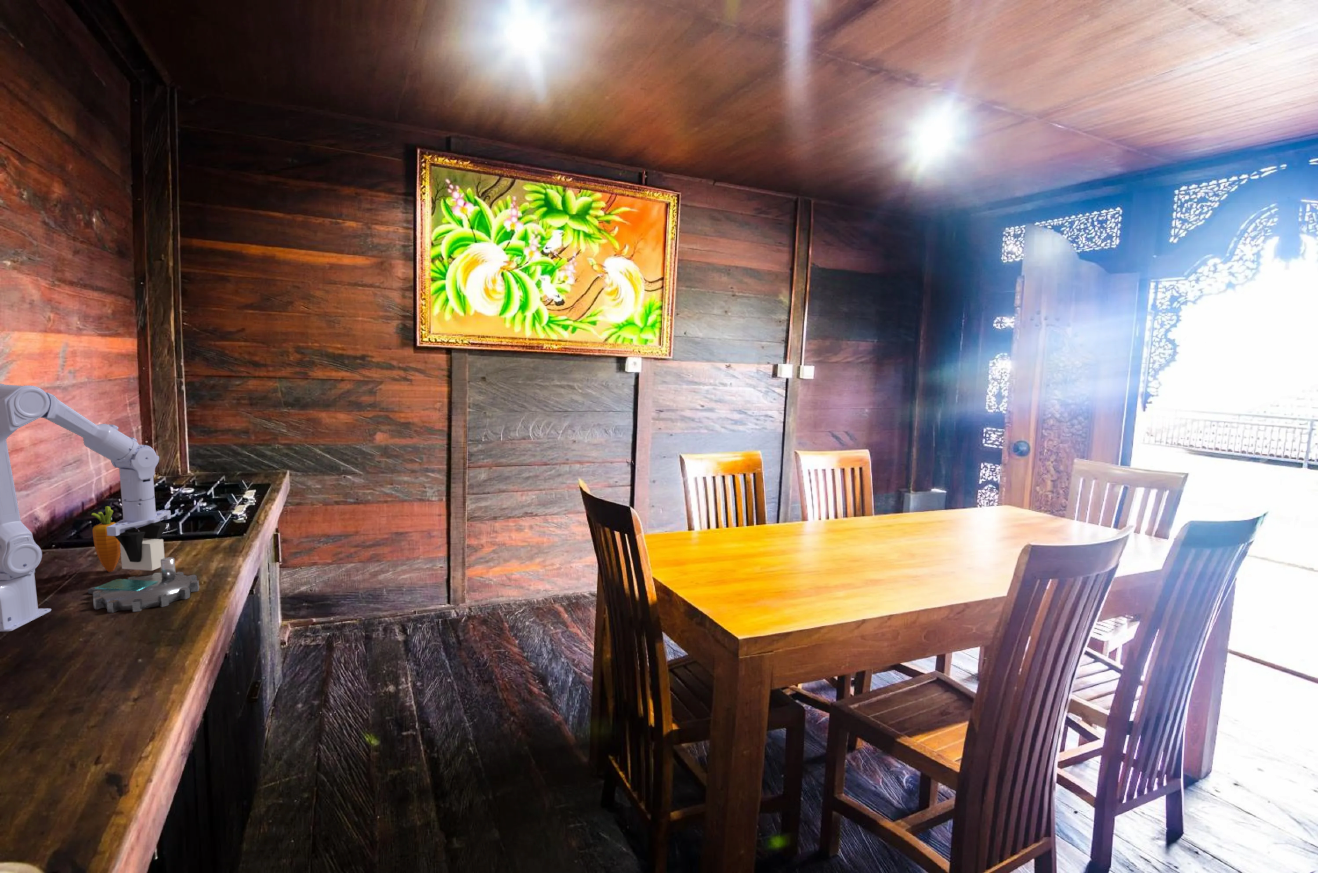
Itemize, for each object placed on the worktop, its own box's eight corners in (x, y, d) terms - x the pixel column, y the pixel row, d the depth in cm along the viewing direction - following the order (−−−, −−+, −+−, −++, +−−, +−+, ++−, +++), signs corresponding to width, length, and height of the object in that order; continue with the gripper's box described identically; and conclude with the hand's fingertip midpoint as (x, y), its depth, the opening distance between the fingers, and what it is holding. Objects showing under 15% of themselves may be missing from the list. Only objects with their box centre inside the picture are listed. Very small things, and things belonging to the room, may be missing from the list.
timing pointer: (107, 593, 140) (107, 587, 139) (101, 595, 138) (101, 590, 138) (94, 592, 140) (93, 586, 140) (88, 594, 138) (87, 589, 138)
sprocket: (99, 620, 126) (96, 589, 125) (88, 594, 138) (85, 566, 137) (208, 597, 138) (206, 569, 137) (189, 575, 150) (187, 549, 149)
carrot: (108, 577, 148) (102, 511, 146) (90, 575, 149) (84, 509, 147) (130, 570, 153) (125, 505, 151) (112, 567, 154) (106, 504, 152)
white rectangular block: (165, 565, 150) (163, 539, 149) (152, 570, 147) (150, 544, 146) (135, 563, 151) (133, 537, 150) (122, 568, 147) (119, 542, 146)
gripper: (127, 507, 139) (132, 570, 141) (181, 492, 153) (185, 549, 155) (95, 505, 140) (100, 568, 142) (152, 490, 154) (156, 547, 156)
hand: (143, 558), depth 149 cm, fingers closed on white rectangular block, 3 cm apart
